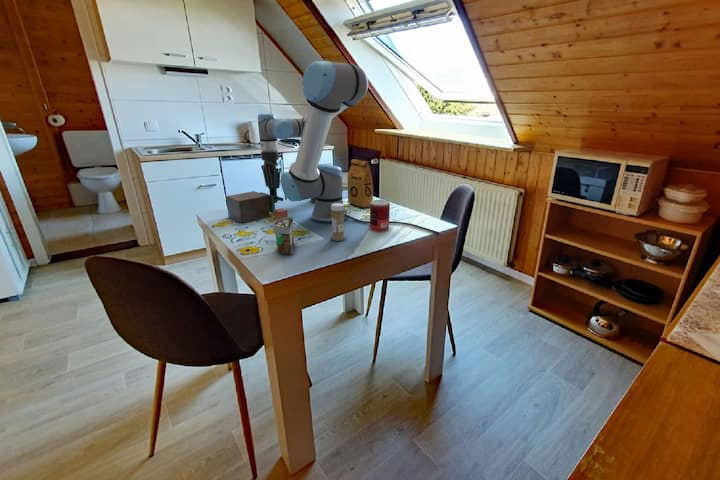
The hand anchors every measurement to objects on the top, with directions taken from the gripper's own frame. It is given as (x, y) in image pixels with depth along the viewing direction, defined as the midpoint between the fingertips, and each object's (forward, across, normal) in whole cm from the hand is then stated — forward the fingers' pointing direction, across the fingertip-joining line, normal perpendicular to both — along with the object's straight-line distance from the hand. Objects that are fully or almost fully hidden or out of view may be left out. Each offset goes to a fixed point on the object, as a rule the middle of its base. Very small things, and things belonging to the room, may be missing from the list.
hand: (274, 202), depth 161 cm
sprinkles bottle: (+4, +48, -4) cm, 48 cm away
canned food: (+4, +51, +16) cm, 54 cm away
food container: (+4, +42, -24) cm, 48 cm away
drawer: (+3, 0, -6) cm, 7 cm away
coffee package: (+4, +21, +36) cm, 42 cm away
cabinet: (+4, 0, -13) cm, 14 cm away
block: (+4, +12, -5) cm, 14 cm away
